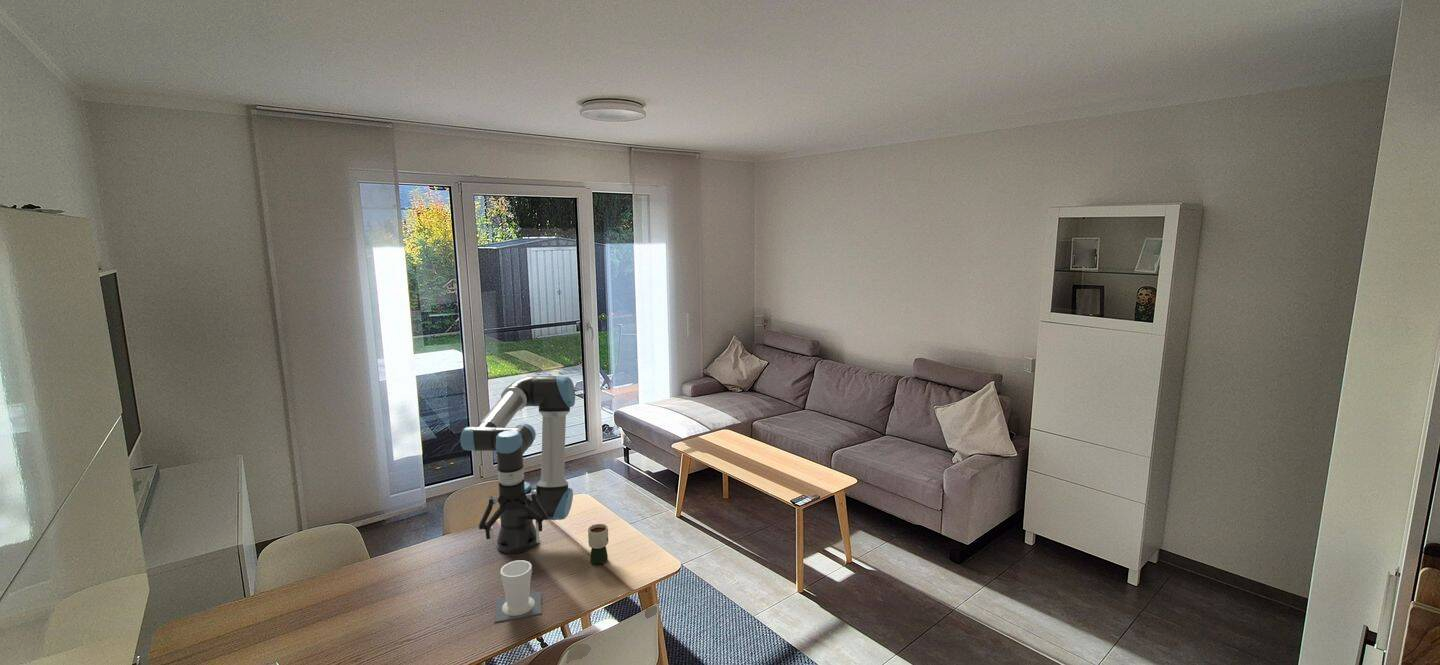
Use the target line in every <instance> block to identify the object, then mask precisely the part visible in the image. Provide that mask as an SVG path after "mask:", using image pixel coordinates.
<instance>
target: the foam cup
mask: <svg viewBox="0 0 1440 665" xmlns="http://www.w3.org/2000/svg"><path fill="white" fill-rule="evenodd" d="M532 567H533V565H532V564H531V562H530V561H527V560H523V559H522V560H520V559H519V560H518V559H517V560H513V561H510V562H508V563H506V564H504V565H503V566H502V567H501V568H500V572H499V574H500V580H501V583H502V587H503V592H504V597H506V602H507V606H508V609H509V610H510V611H513V612H518V611H521V610H524V609H525V608H527V606H528V604H529V593H531V592H530V590H531V581H532V580H531V579H532V575H533V574H532V573H533V568H532Z"/></svg>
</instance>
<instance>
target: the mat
mask: <svg viewBox="0 0 1440 665" xmlns="http://www.w3.org/2000/svg"><path fill="white" fill-rule="evenodd" d="M494 607H495V610H494V623H495V624H496V623H500V622H507V621H512V620H517V619H523V618H527V617H532V616H539V615H542V614H543V609H542V608H543V607H542V593H541V590H540V591H538V590H537V591H533V592H530V593H529V604H528V606H527V608H525V609H524V610H521V611H518V612H513V611H510V610H509V609H508V606H507V602H506V597H505V596H504V597H499V598H495V606H494Z"/></svg>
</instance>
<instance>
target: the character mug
mask: <svg viewBox="0 0 1440 665" xmlns="http://www.w3.org/2000/svg"><path fill="white" fill-rule="evenodd" d="M587 533H588V534H587V536H588V539H587V540H588V541H587V542H588V546H589V547H590V562H591V564H594V565H597V564H598V565H599V564H605V563H606V562H608V560H609V558H608V557H609V556H608V551H607V546H608V544H609V526H608V525H607V524H605V523H594V524H592V525H590V526H589V527H588V529H587Z"/></svg>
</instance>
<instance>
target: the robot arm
mask: <svg viewBox="0 0 1440 665" xmlns="http://www.w3.org/2000/svg"><path fill="white" fill-rule="evenodd" d="M575 403H576V390H575V386H574V383H573V380H572V378H570V377H568V376H564V375H563V376H562V375H528V376H525V377H522V378H519V379H517V380H516V381H514V382H512V383H510V385H508V386H507V387H506V388H505V389H504V390H503V391H502V393H501V395H500V399H499V400H498V401H497V402H496V403H495V404H494V406H493V407H492V408H491V409H490V410H489V411H488V413H487V414H486V415H485V416H483V418H482V419H481V421H479V423H478V424H477V425H476V426H473V425H471V426H467V427H464V428H463V429H462V431H461V434H460V438H459V440H460V446H461V448H462V449H463V450H465V451H472V452H495V453H496V463H497V464H496V465H497V478H498V479H497V481H498V494H499V495H498V497H494V496H489V498H488V504H487V507H486V508H485V511H484V513H483V515H482V517H481V519H480V522H479V525H478V529H479V530H485V538H486V540H489V541H490V551H492V550H494V549H495V548H494V546H495V545H494V544H495V543H494V529H493V528H494V527H493V525H494V524H495V523H496V522H497V520H498V519H500V520H499V521H500V528H499V532H498V535H497V539H496V548H497V550H499V552H502V553H504V554H519V553H524V552H528V551H529V550H531V549H533V548H534V547H536V546H537V545H538V543H540V532H542V531H543V522H544V521H561V520H565V519H566V518H567V517H568V516H569V514H570V511H571V508H572V504H573V498H574V490H573V488H571V487H569V482H568V481H567V480H566V478H565V467H566V466H565V464H566V463H565V458H566V457H565V456H566V426H567V425H566V422H567V419H566V418H567V415H568V414H569V413H570V411H571V408H573V407H574V406H575ZM525 407H526V408H527V407H538V413H539V414H540V415H542V424H541V425H542V427H541V428H542V429H541V431H542V432H541V464H540V465H541V467H540V480H539V481H538V482H537V483H536V487H532V484H531V483H530V482H527V481H525V480H524V479H525V471H524V455H525V452H526V451H528V450H529V448H530V447H531V446H532V445H533V443H534V441H535V439H536V436H537V435H536V434H537V433H536V430H535V428H534V427H533V426H532V425H531V424H528V423H520V424H518V425H516V426H515V427H510V426H509V427H508V424H509V423H510V421H511V420H512V419H513V418H514V417H515V415H516V414H517V413H518V412H519V411H521V410H523V409H524V408H525ZM497 503H498V508H497V510H496V511H495V512H494V513H493V515H492V516H491V517H490V515H491V512H492V510H493V508H494V506H495V505H496V504H497ZM489 517H490V519H489V520H488V518H489ZM487 520H488V521H487ZM534 520H535V524H534Z"/></svg>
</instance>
